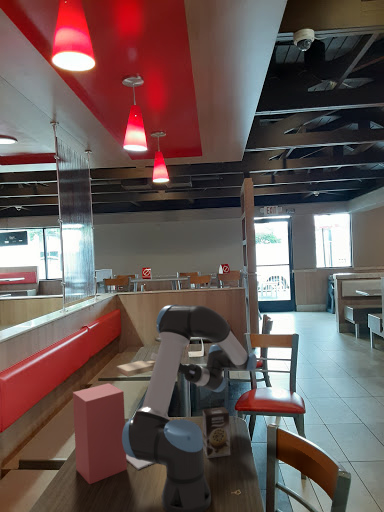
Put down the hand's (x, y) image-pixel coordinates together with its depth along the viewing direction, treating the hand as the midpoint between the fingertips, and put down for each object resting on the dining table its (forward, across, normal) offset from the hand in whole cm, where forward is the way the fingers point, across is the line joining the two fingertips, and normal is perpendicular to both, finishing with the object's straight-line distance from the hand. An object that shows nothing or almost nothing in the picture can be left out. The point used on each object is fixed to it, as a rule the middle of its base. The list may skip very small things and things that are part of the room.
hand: (154, 356), depth 157 cm
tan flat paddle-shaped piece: (+1, 0, -5) cm, 5 cm away
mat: (-18, 0, -31) cm, 36 cm away
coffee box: (-30, -19, -24) cm, 43 cm away
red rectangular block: (+3, 0, -43) cm, 43 cm away
